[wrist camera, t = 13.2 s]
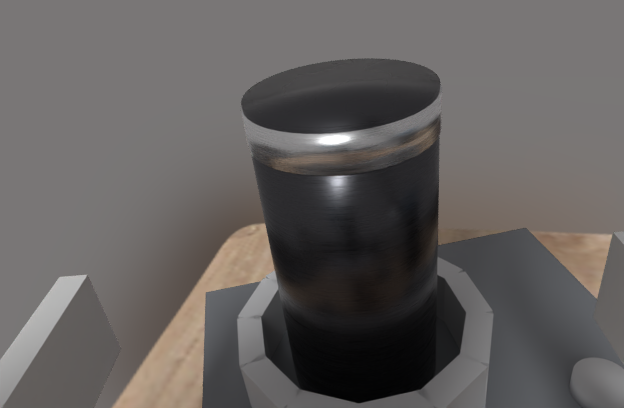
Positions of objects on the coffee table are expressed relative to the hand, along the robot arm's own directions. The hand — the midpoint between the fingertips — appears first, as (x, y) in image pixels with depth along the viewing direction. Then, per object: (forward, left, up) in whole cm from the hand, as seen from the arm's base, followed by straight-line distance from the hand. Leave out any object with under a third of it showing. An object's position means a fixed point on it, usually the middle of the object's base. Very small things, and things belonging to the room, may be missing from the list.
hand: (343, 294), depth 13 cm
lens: (-1, -5, -8) cm, 10 cm away
